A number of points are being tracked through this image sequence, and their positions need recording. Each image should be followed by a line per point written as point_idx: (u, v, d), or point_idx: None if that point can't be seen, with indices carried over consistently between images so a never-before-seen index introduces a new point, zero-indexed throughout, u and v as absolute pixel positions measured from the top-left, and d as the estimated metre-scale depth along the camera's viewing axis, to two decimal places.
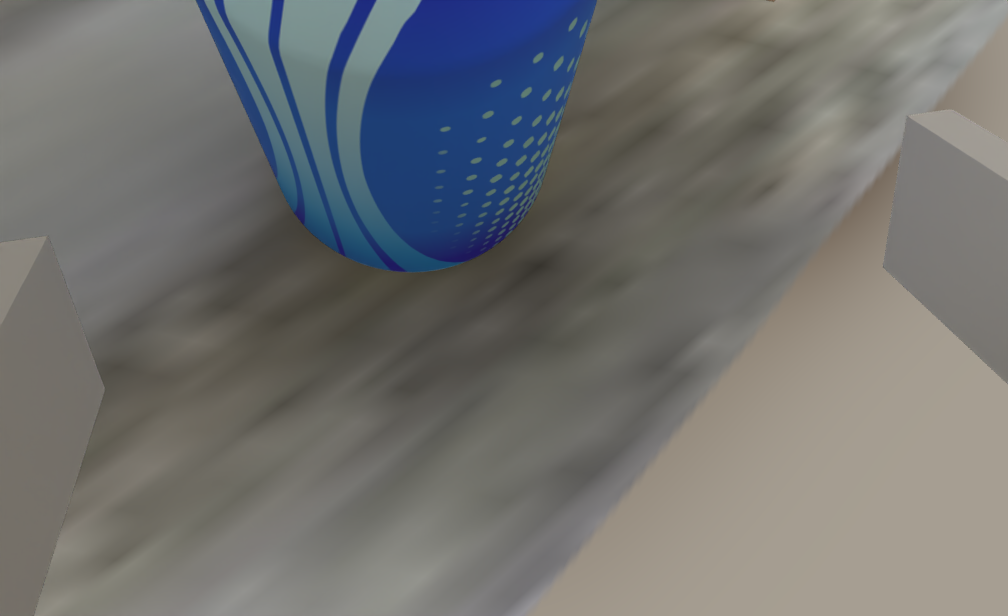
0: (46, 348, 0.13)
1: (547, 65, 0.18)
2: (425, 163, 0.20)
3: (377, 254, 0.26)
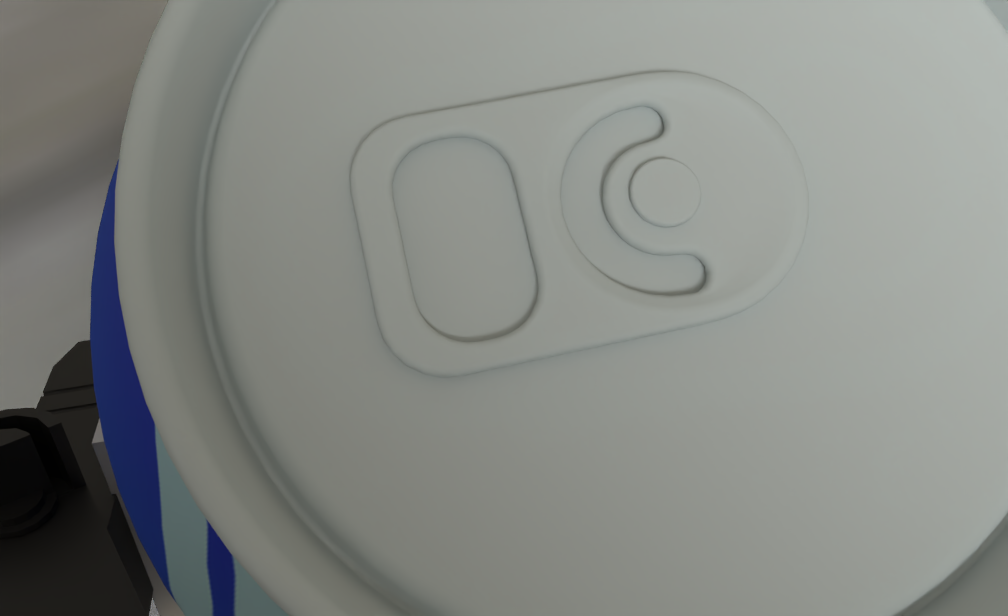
0: None
1: None
2: None
3: None
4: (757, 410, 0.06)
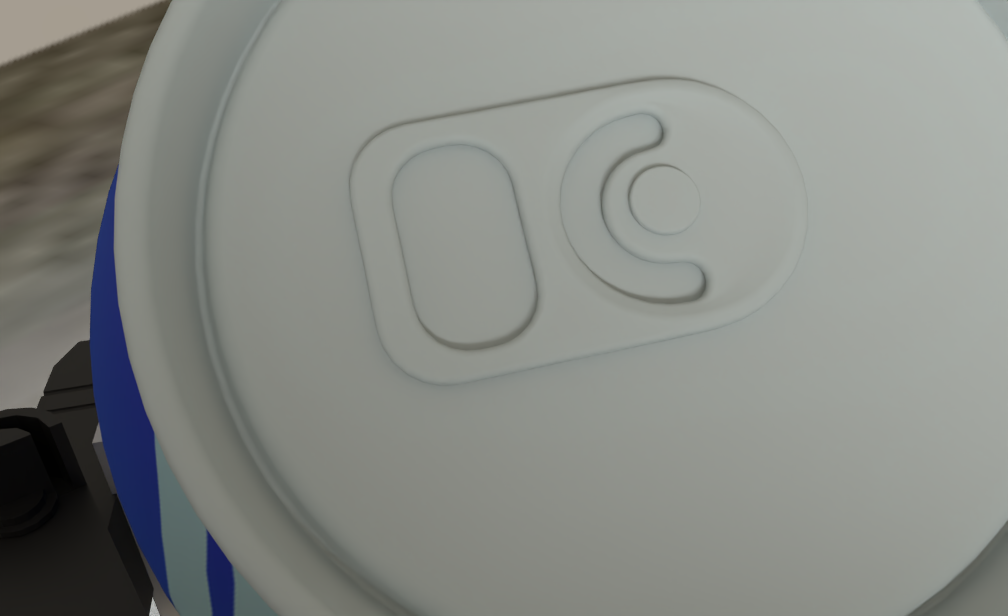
0: None
1: None
2: None
3: None
4: (755, 419, 0.06)
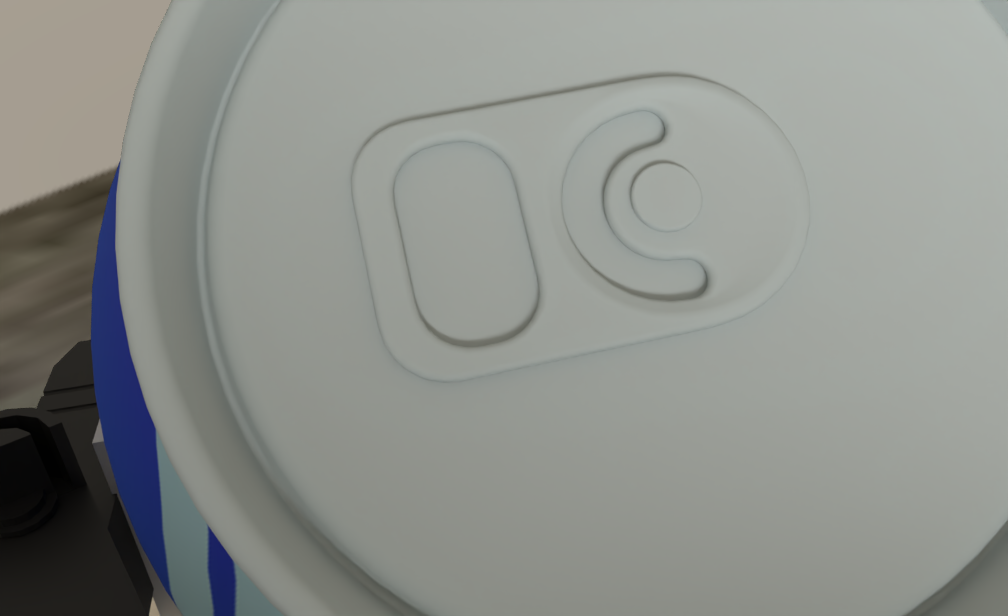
0: None
1: None
2: None
3: None
4: (759, 415, 0.06)
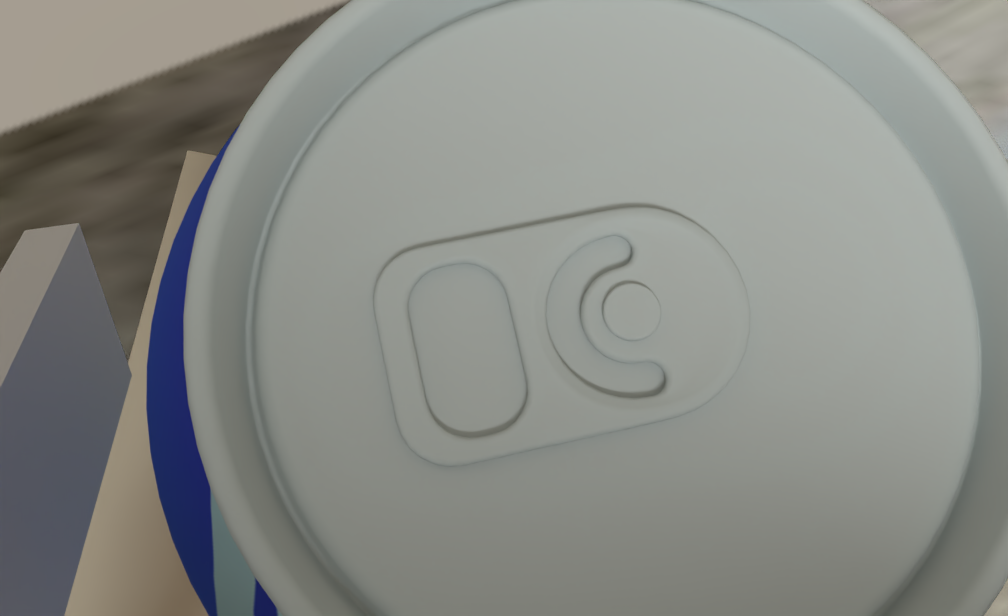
0: (79, 332, 0.13)
1: None
2: None
3: None
4: (704, 491, 0.07)
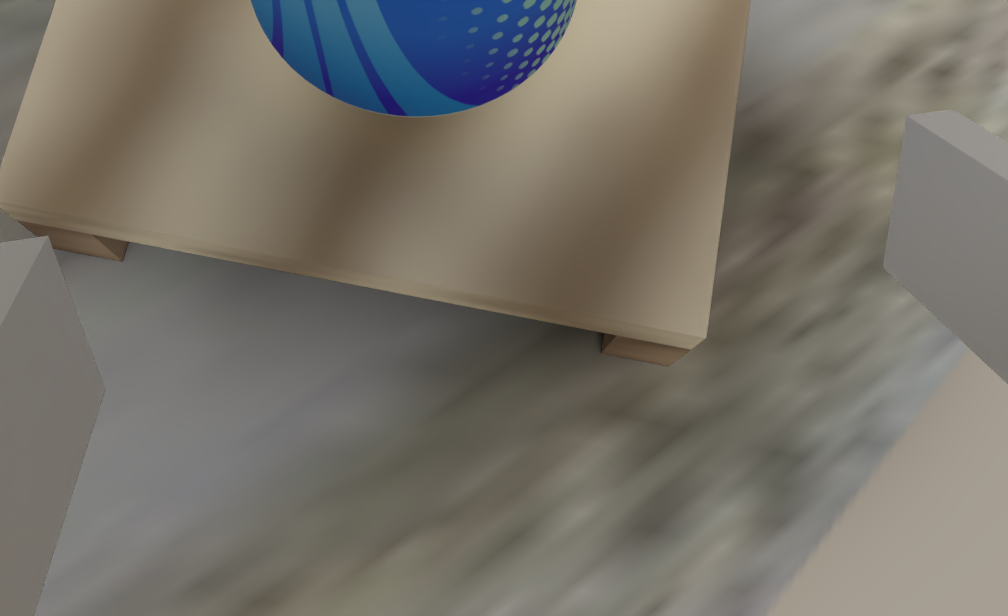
0: (46, 348, 0.13)
1: None
2: None
3: (371, 82, 0.22)
4: None
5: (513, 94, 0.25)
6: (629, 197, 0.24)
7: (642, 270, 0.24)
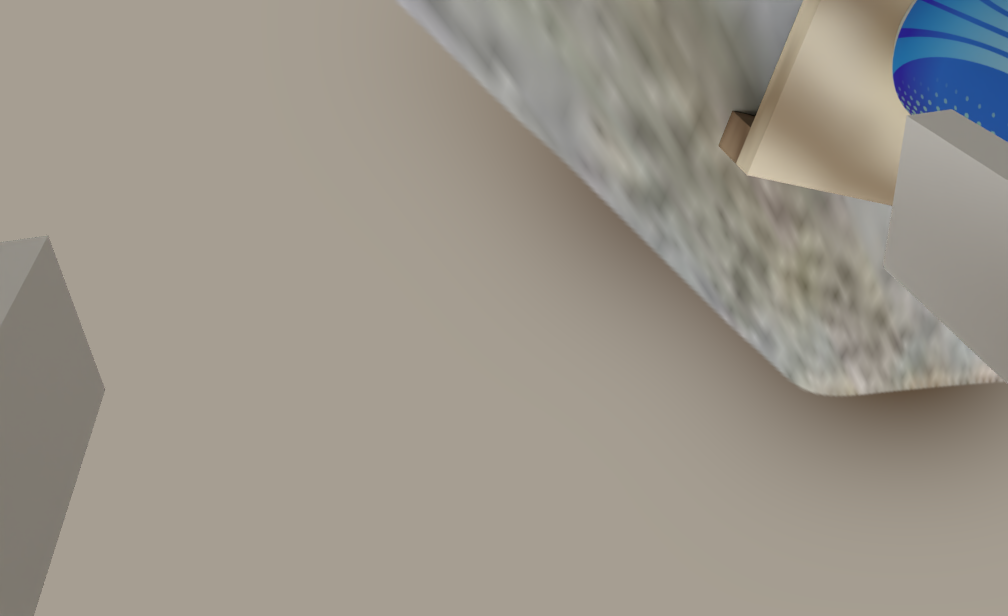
0: (46, 348, 0.13)
1: None
2: (1004, 112, 0.37)
3: (922, 29, 0.42)
4: None
5: (891, 86, 0.47)
6: (823, 142, 0.48)
7: (786, 146, 0.47)
